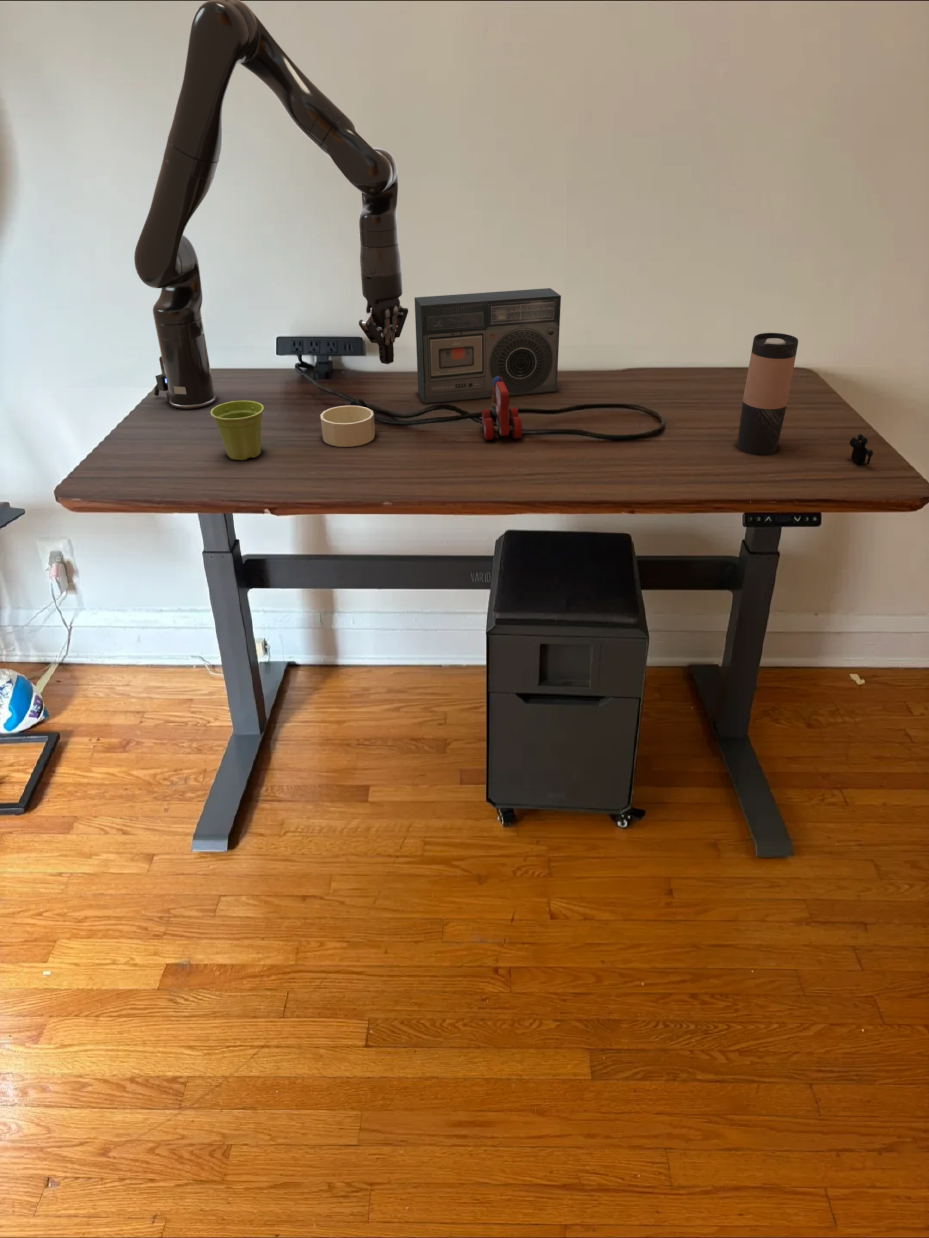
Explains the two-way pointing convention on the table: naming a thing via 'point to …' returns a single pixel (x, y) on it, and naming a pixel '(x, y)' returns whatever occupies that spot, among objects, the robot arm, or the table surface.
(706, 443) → the table surface
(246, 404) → the plant pot
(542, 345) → the cassette player
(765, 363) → the travel mug
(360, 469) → the table surface
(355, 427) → the beige round bowl
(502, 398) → the red toy vehicle
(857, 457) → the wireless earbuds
